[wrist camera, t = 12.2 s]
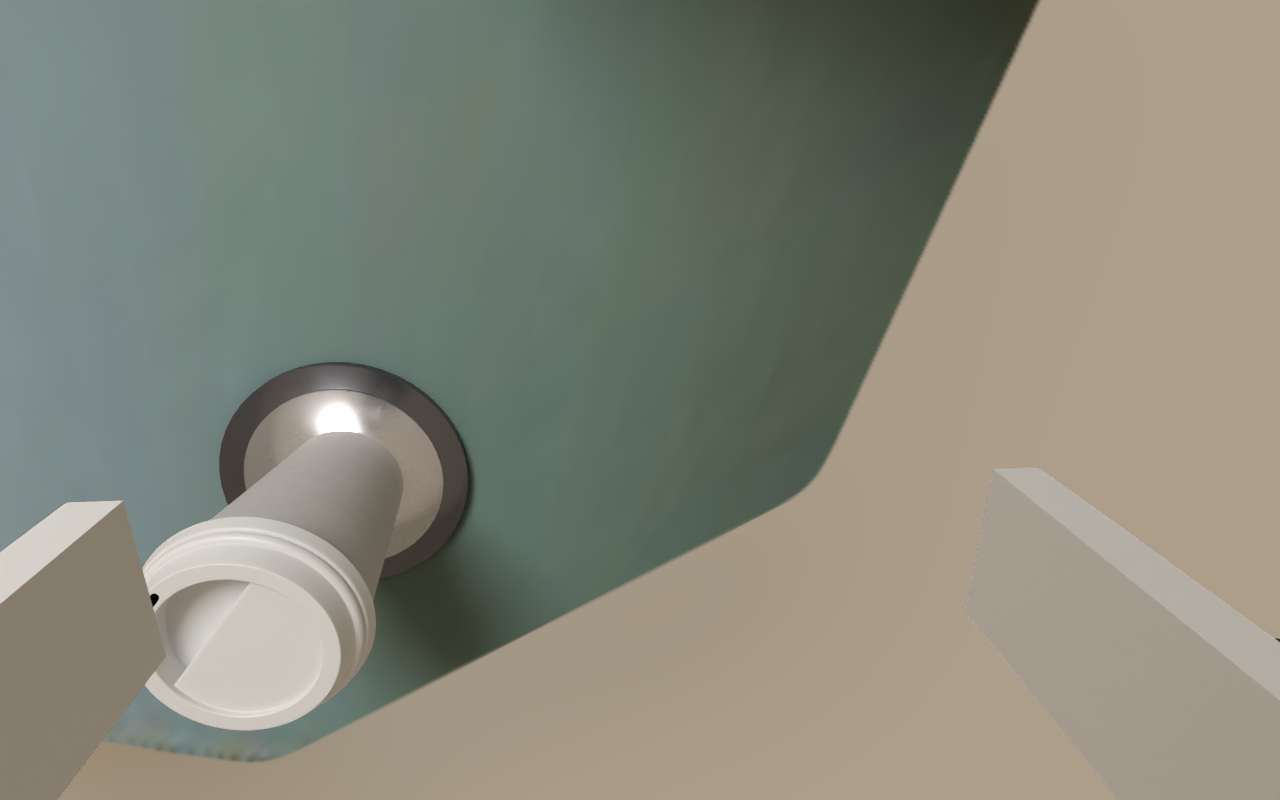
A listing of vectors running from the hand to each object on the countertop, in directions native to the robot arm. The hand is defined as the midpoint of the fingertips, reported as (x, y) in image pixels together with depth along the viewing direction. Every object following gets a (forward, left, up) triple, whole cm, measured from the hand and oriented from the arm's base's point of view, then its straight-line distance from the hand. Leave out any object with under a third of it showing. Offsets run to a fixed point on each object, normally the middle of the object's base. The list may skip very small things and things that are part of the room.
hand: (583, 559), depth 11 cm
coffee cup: (+12, -14, -30) cm, 35 cm away
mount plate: (+12, -14, -31) cm, 36 cm away
